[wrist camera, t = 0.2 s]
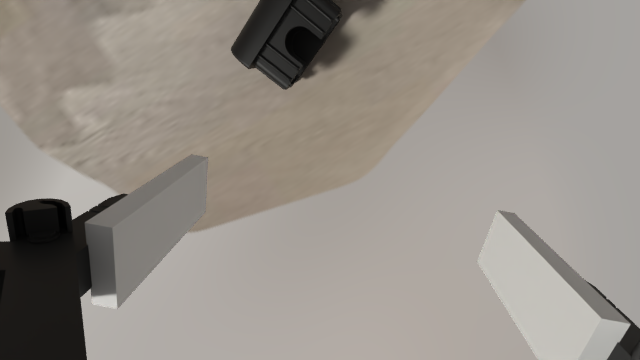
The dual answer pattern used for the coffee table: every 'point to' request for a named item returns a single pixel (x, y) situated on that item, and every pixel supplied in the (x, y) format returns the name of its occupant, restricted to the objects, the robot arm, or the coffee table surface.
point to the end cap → (285, 37)
